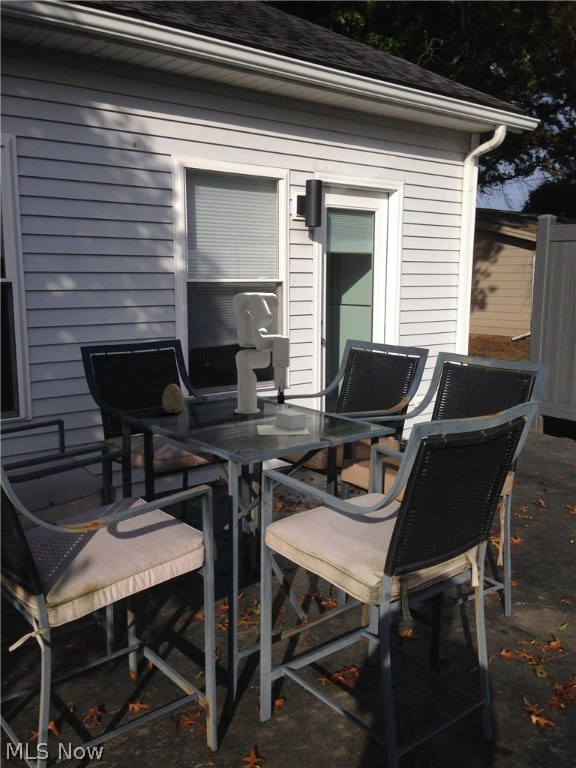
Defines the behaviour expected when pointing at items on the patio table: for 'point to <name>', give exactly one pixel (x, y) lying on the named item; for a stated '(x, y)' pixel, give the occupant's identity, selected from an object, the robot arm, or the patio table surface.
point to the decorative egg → (173, 399)
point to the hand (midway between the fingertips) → (280, 403)
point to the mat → (280, 430)
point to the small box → (291, 419)
